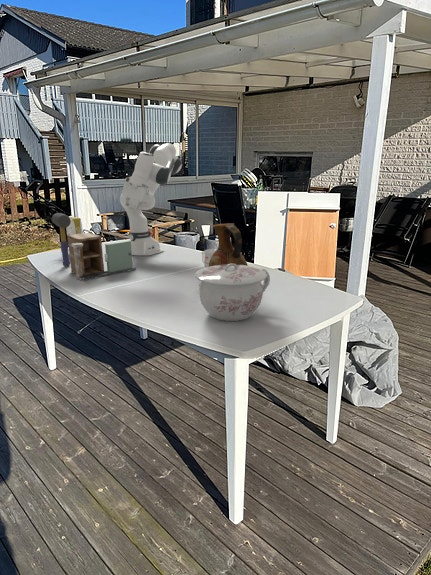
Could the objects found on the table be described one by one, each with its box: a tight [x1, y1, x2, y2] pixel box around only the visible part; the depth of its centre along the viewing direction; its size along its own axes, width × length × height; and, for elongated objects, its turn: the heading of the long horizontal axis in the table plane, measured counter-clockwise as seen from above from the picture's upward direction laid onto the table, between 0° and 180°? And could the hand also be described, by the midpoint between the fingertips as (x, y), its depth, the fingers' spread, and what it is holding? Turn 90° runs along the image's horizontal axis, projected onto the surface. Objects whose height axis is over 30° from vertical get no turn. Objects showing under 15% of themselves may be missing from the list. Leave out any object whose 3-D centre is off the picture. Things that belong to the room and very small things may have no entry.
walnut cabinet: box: [66, 232, 105, 282], centre depth 210 cm, size 16×18×20 cm
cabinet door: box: [104, 239, 134, 273], centre depth 215 cm, size 15×4×16 cm, turn 133°
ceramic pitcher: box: [208, 222, 249, 267], centre depth 189 cm, size 20×20×30 cm
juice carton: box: [65, 215, 84, 236], centre depth 256 cm, size 9×8×24 cm
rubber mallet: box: [51, 212, 71, 268], centre depth 223 cm, size 12×8×30 cm, turn 37°
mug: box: [201, 248, 218, 268], centre depth 218 cm, size 12×9×11 cm
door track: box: [80, 266, 137, 282], centre depth 213 cm, size 30×5×1 cm, turn 133°
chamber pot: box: [194, 263, 271, 322], centre depth 154 cm, size 28×28×21 cm
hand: (131, 207), depth 215 cm, fingers open, 8 cm apart
